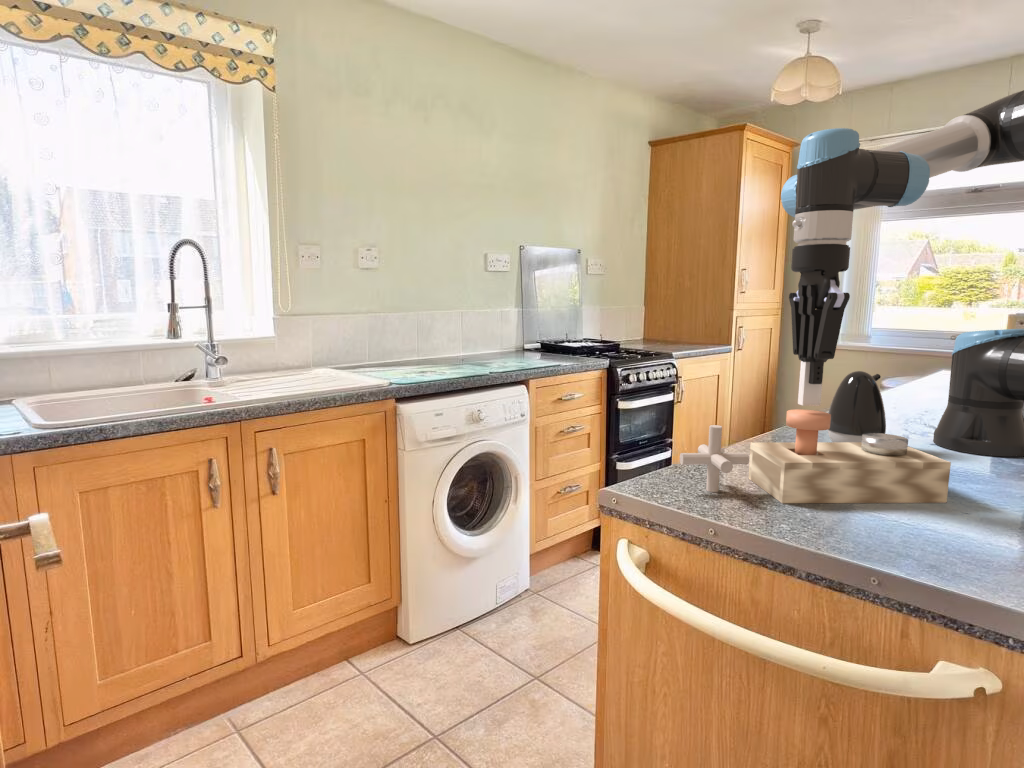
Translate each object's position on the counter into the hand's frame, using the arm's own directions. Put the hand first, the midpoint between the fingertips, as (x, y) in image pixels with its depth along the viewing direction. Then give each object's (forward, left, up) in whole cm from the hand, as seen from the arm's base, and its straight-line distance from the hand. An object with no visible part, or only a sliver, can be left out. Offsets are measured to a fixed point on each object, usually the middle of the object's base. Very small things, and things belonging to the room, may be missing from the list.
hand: (809, 404), depth 92 cm
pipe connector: (+14, 0, -14) cm, 19 cm away
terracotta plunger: (0, 0, -9) cm, 9 cm away
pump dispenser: (-23, -26, -14) cm, 37 cm away
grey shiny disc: (-12, 0, -13) cm, 17 cm away
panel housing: (-6, 0, -13) cm, 15 cm away
